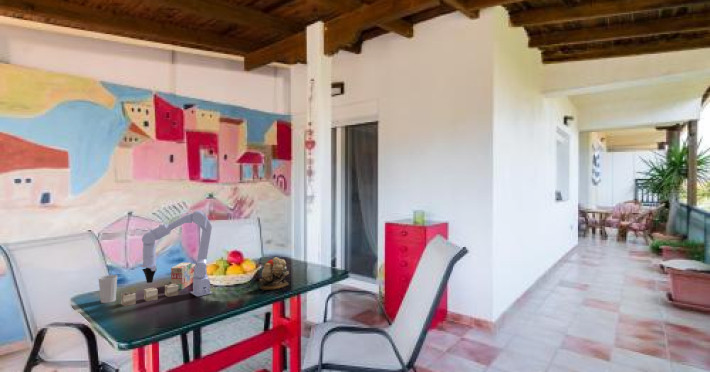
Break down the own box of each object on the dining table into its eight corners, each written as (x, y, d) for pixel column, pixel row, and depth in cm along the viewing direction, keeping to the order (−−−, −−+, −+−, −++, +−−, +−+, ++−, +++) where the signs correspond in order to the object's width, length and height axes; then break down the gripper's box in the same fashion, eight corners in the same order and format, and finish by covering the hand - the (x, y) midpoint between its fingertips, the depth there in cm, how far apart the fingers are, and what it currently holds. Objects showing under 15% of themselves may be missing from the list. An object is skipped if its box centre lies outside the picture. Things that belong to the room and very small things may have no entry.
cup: (121, 299, 189) (121, 275, 188) (106, 304, 181) (106, 279, 181) (110, 297, 191) (109, 274, 191) (94, 302, 184) (94, 278, 184)
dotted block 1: (135, 303, 182) (135, 293, 182) (124, 306, 178) (123, 296, 178) (132, 301, 186) (132, 291, 185) (121, 304, 182) (121, 293, 182)
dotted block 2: (178, 294, 196) (178, 285, 196) (168, 297, 193) (168, 287, 192) (174, 292, 200) (174, 283, 200) (164, 294, 196) (164, 285, 196)
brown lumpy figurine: (282, 281, 221) (283, 253, 221) (294, 286, 213) (294, 256, 212) (255, 287, 209) (255, 257, 208) (266, 292, 200) (266, 261, 200)
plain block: (157, 299, 189) (157, 289, 189) (146, 301, 186) (146, 291, 185) (154, 297, 193) (154, 287, 192) (143, 299, 189) (143, 289, 189)
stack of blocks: (188, 278, 227) (188, 258, 226) (198, 278, 227) (198, 258, 226) (171, 289, 205) (170, 267, 205) (182, 289, 205) (182, 267, 205)
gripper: (136, 254, 191) (136, 281, 192) (145, 259, 181) (145, 287, 181) (151, 253, 196) (151, 278, 197) (160, 257, 186) (160, 284, 186)
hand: (149, 282), depth 189 cm, fingers closed
